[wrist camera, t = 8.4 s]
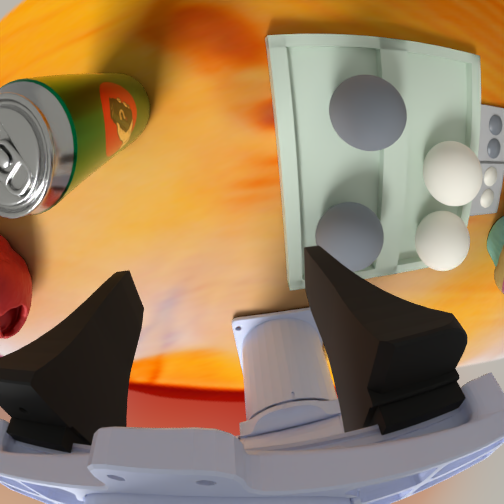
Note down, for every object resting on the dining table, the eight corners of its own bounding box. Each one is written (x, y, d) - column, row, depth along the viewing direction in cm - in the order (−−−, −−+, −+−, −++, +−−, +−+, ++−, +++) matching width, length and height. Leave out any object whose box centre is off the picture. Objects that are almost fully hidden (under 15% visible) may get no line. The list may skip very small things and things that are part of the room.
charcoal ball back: (366, 245, 23) (390, 279, 19) (309, 253, 23) (324, 291, 19) (369, 189, 21) (399, 216, 17) (307, 195, 21) (325, 225, 17)
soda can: (119, 57, 16) (1, 50, 5) (168, 110, 18) (92, 156, 8) (68, 111, 17) (-58, 164, 7) (114, 161, 19) (17, 255, 9)
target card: (495, 211, 23) (497, 213, 23) (467, 214, 23) (470, 216, 23) (507, 109, 18) (510, 109, 18) (478, 103, 18) (481, 104, 18)
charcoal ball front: (361, 139, 20) (419, 152, 16) (315, 150, 18) (378, 164, 14) (358, 74, 18) (418, 78, 14) (309, 74, 16) (376, 74, 12)
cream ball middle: (454, 190, 21) (488, 214, 17) (409, 193, 21) (442, 220, 17) (459, 135, 19) (498, 152, 15) (412, 133, 19) (450, 150, 15)
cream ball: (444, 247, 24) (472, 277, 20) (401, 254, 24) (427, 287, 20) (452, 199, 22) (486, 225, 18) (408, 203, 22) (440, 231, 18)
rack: (451, 253, 25) (459, 261, 24) (287, 280, 25) (289, 290, 24) (469, 55, 16) (479, 55, 15) (265, 38, 16) (267, 35, 15)
